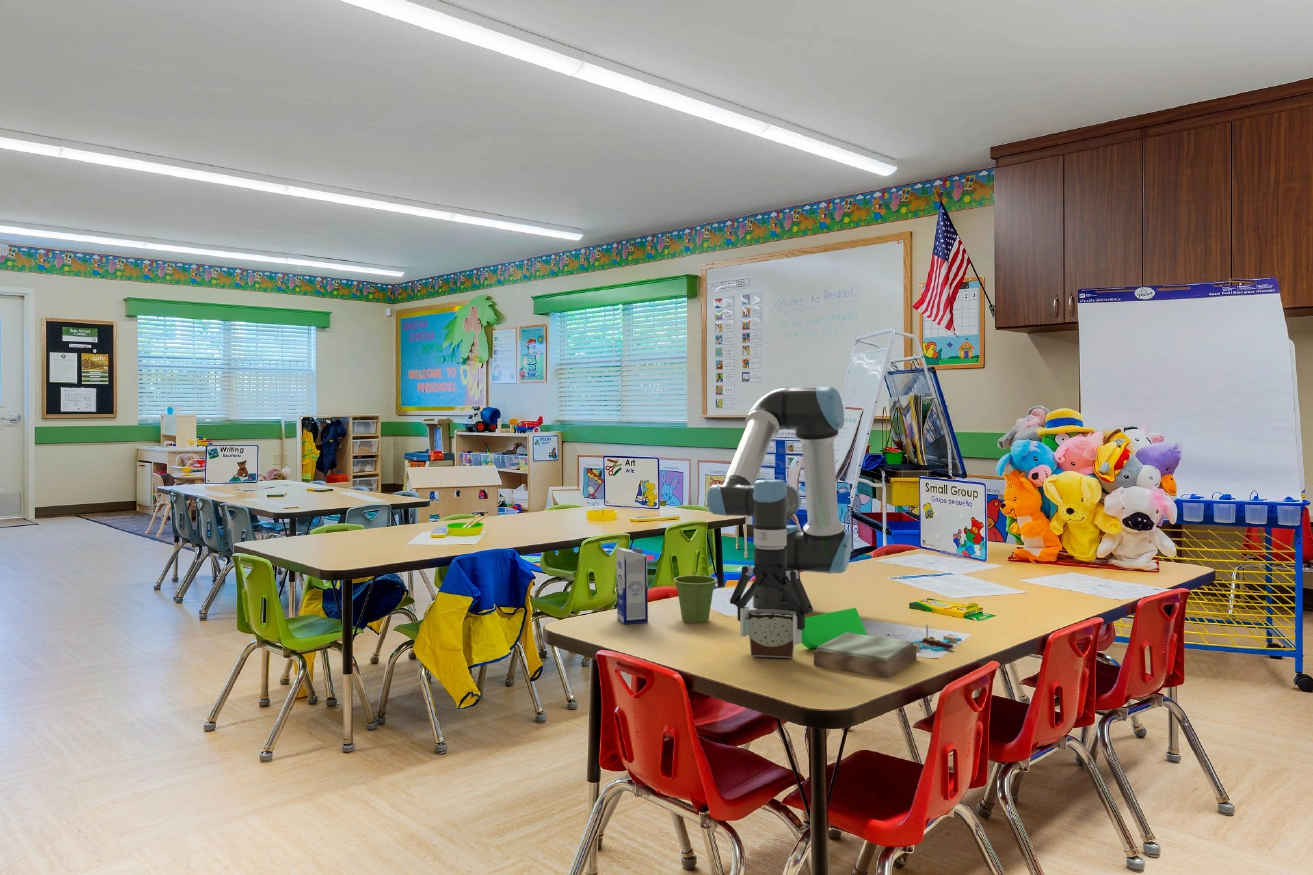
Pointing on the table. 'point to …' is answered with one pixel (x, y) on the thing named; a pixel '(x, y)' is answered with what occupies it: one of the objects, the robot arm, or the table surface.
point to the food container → (771, 633)
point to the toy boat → (935, 642)
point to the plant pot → (695, 597)
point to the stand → (865, 654)
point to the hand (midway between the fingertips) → (770, 639)
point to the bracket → (830, 627)
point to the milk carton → (632, 586)
